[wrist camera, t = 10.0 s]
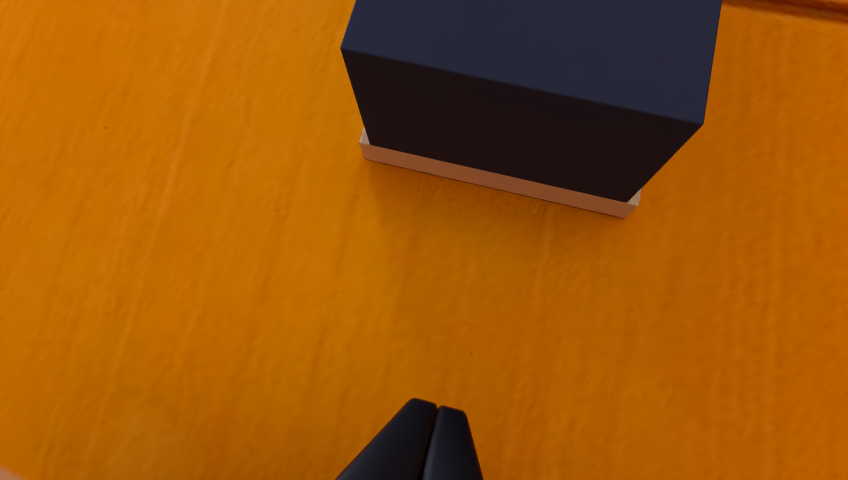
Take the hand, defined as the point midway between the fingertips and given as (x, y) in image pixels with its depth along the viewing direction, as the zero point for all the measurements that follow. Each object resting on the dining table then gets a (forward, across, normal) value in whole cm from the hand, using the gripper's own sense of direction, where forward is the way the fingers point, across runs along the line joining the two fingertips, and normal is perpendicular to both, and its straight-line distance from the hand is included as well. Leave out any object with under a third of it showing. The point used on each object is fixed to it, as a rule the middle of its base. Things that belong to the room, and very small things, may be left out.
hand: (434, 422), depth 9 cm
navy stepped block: (+21, 0, -5) cm, 21 cm away
